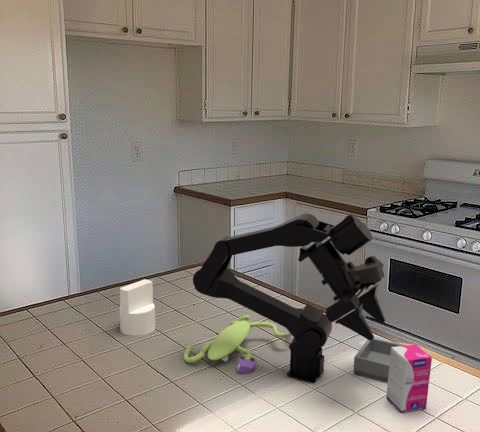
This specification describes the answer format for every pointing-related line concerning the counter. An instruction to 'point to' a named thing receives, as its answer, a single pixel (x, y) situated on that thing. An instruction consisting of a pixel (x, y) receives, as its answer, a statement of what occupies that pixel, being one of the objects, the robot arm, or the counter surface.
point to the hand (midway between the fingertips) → (377, 330)
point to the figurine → (233, 344)
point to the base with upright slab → (137, 308)
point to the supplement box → (408, 378)
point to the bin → (374, 359)
